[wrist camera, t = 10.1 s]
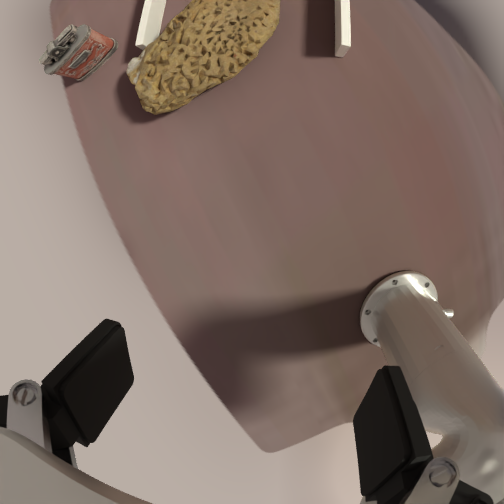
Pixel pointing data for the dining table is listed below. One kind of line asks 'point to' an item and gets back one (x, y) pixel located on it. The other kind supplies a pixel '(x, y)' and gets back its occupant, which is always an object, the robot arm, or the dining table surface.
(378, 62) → the dining table surface
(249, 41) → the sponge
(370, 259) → the dining table surface
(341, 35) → the box
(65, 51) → the lighter
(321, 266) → the dining table surface
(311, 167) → the dining table surface
